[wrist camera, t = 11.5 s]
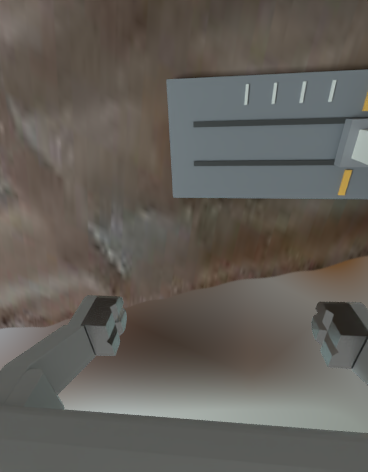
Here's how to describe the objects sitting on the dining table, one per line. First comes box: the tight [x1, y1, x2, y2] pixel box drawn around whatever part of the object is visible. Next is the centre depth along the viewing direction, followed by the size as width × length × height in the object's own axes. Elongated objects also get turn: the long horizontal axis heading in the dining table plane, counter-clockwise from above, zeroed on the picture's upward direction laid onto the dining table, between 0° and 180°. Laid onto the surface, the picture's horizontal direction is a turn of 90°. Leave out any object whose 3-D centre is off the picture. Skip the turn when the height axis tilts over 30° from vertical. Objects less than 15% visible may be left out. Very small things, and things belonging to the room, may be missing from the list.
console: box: [167, 70, 368, 199], centre depth 29 cm, size 14×30×2 cm, turn 92°
